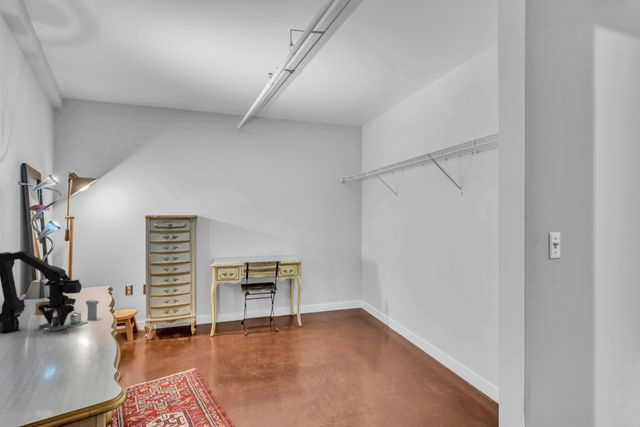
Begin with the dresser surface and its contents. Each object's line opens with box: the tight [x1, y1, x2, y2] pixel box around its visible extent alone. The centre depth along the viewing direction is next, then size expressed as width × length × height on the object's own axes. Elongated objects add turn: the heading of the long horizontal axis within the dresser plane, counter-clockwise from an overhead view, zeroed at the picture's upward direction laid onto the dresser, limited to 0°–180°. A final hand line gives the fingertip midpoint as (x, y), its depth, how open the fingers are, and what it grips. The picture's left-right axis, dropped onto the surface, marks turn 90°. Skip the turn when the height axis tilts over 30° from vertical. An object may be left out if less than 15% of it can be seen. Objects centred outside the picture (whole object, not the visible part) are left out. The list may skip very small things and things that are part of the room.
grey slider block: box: [41, 315, 61, 332], centre depth 168 cm, size 8×4×6 cm, turn 159°
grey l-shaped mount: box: [64, 299, 99, 329], centre depth 182 cm, size 14×8×10 cm, turn 159°
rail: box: [38, 322, 67, 333], centre depth 171 cm, size 5×13×2 cm, turn 69°
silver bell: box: [69, 311, 82, 325], centre depth 179 cm, size 5×5×6 cm
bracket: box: [35, 300, 70, 316], centre depth 203 cm, size 18×8×7 cm, turn 161°
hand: (56, 324), depth 170 cm, fingers open, 9 cm apart
